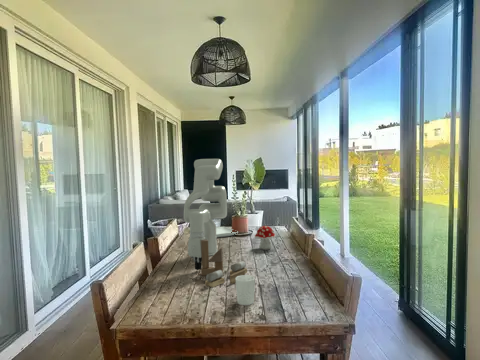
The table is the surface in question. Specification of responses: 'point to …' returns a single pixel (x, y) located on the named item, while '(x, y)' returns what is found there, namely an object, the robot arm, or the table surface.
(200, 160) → the robot arm
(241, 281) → the white cup
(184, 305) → the table surface
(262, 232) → the decorative mushroom
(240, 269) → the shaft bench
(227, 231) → the square plate
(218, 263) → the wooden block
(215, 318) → the table surface
